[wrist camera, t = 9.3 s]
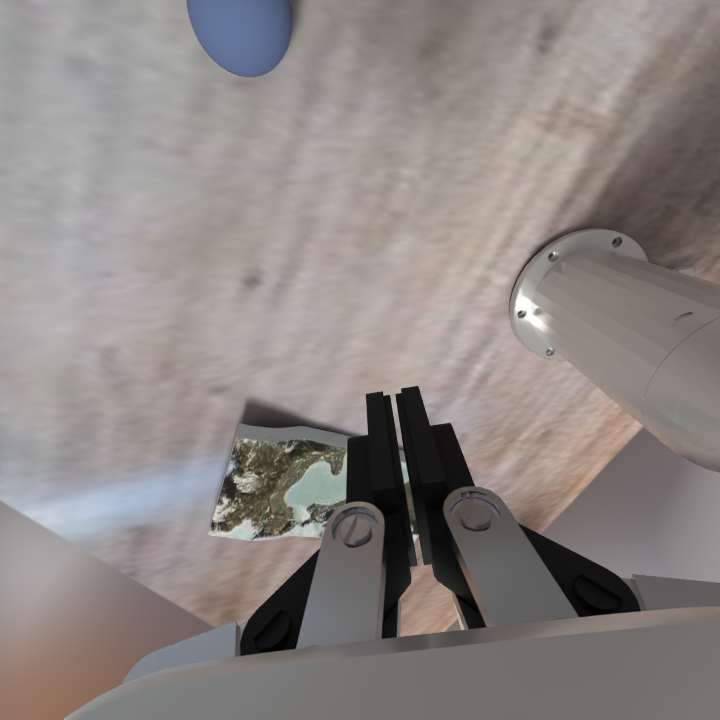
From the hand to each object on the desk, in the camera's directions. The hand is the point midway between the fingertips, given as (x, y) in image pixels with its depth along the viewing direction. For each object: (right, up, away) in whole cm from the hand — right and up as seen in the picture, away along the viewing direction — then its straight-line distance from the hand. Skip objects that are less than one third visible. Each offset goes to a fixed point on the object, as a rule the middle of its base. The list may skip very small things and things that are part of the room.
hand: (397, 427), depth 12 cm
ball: (-8, +23, +10) cm, 27 cm away
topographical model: (-4, -13, +34) cm, 37 cm away
